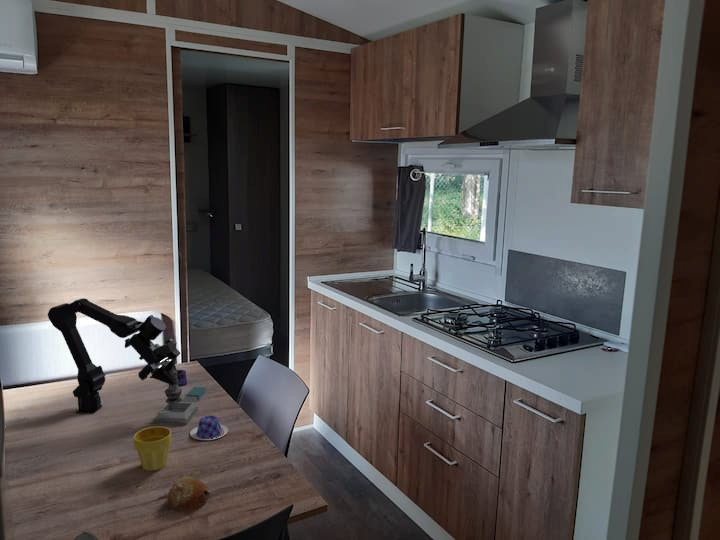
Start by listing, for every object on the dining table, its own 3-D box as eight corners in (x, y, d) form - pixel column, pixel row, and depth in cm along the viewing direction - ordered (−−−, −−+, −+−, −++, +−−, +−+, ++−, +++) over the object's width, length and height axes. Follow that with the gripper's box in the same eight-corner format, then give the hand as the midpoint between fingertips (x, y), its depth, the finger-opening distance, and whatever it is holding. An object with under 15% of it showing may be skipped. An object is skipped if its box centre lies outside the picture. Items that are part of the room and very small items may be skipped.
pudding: (182, 439, 186) (182, 424, 185) (202, 424, 197) (201, 409, 196) (217, 444, 183) (216, 428, 182) (234, 428, 194) (234, 413, 193)
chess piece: (181, 403, 197) (180, 369, 195) (163, 404, 196) (162, 370, 194) (183, 396, 203) (182, 363, 201) (166, 397, 202) (164, 364, 200)
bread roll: (180, 503, 157) (166, 478, 155) (215, 486, 157) (201, 462, 155) (172, 525, 147) (156, 499, 145) (209, 508, 147) (194, 482, 145)
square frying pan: (154, 423, 197) (154, 413, 196) (186, 391, 225) (185, 382, 225) (186, 424, 196) (186, 414, 195) (213, 392, 225) (213, 383, 224)
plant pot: (137, 477, 162) (135, 445, 160) (133, 461, 171) (131, 430, 169) (176, 469, 167) (174, 437, 165) (169, 453, 176) (168, 423, 174)
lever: (168, 378, 239) (168, 371, 239) (184, 375, 242) (183, 368, 242) (175, 388, 229) (174, 380, 229) (191, 385, 232) (191, 377, 232)
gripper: (145, 341, 187) (178, 377, 187) (174, 326, 205) (204, 359, 205) (124, 362, 190) (156, 398, 190) (155, 346, 208) (184, 378, 208)
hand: (176, 382), depth 198 cm, fingers closed on chess piece, 4 cm apart
